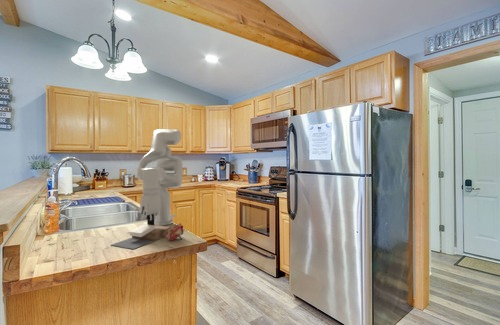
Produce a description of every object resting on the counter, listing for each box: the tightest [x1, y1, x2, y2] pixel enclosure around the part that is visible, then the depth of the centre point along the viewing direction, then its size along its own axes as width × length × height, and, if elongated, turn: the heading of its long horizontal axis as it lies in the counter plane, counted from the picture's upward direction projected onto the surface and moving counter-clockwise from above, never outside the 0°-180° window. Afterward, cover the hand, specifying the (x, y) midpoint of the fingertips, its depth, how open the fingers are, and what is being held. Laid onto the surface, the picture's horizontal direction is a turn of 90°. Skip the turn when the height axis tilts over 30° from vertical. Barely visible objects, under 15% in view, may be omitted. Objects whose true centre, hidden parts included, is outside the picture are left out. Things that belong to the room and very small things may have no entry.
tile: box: [129, 223, 154, 237], centre depth 127 cm, size 9×7×2 cm
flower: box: [164, 222, 185, 241], centre depth 128 cm, size 10×9×8 cm
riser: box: [131, 225, 172, 243], centre depth 134 cm, size 13×14×4 cm
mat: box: [110, 237, 153, 251], centre depth 122 cm, size 12×14×1 cm
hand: (150, 227), depth 133 cm, fingers closed
